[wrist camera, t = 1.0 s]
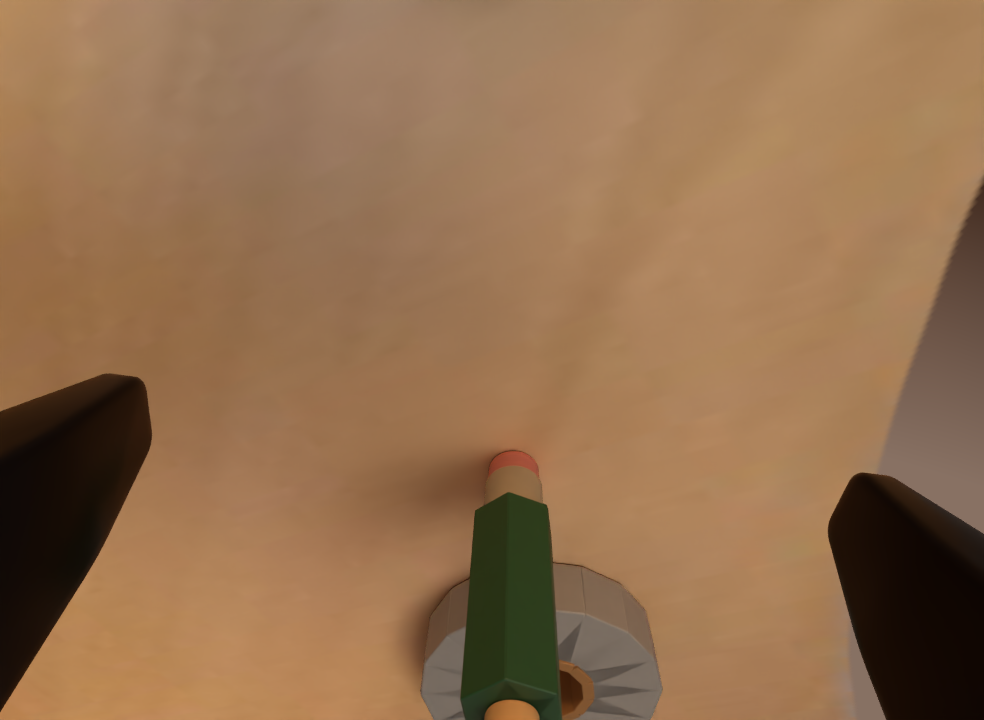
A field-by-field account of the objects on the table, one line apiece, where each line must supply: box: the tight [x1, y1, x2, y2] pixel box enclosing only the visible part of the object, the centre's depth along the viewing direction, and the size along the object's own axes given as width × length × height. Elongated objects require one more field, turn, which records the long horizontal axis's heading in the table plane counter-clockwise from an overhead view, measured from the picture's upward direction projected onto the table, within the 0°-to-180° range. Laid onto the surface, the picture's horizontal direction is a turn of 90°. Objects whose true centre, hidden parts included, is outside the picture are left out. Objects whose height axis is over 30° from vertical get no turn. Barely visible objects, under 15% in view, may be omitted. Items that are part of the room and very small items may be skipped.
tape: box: [421, 563, 662, 720], centre depth 29 cm, size 10×10×3 cm
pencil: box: [460, 451, 562, 720], centre depth 21 cm, size 2×3×12 cm
